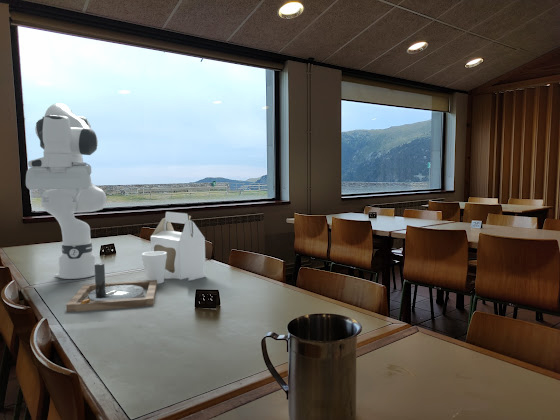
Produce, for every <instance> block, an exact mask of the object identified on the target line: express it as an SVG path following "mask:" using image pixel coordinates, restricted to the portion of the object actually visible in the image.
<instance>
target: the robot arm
mask: <svg viewBox="0 0 560 420" xmlns="http://www.w3.org/2000/svg"><path fill="white" fill-rule="evenodd" d="M91 126H92V125H91V124H90V122H89V120H88V118H86V117H85V116H79V115H78V116H76V115H75V114H74V113H73V111H72V109H71V108H70V107H68V105H66V104H64V103H60V102H58V103H54V104H51V105H49V107H48V108H47V109H46V111H45V113H44V116H42V118H39V119H38V120H37V122H35V127H34V129H35V134H36V136H37V138H38V139H39V147H41V149H43V152H42V153H43V157H39V158H35V159H31V160H29V161H28V162H27V165H28V167H29V168H27V170H26V174H25V186H26V188H27V189H28V190H38V192H37V193H38V195H39V196H40V197H41V198H40V203H41V207H42V209H44V211H45V212H47V213H48V214H50V215H52V216H53V217H54V218H55V220H56V221H57V222H58V224H59V227H60V230H61V236H62V244H61V253H62V255H61V256H59V258H58V272H57V273H55V274H54V278H60V279H63V280H64V279H65V280H72V279H73V280H74V279H78V280H79V279H85V278H90V277H93V276H94V277H95V264H98V263H96V262H97V261H96V256H95V254H94V252H93V243H92V242H91V239H92V238H91V227H90V225H89V224H88V223H87V222H86V221H83V220H81V219H78V218H76V217H75V214H76V213H92V212H97V211H100V210H103V209H104V208H105V207H106V205H107V201H108V200H107V199H108V198H107V194H106V193H105V191H104V190H103V188H100V187H98V186H97V185H95V184H93V182H92V178H91V174H92V166H91V165H90V164H89V163H87V162H84V159H83V155H85V156H91V155H93V154H94V153H95V152H96V151H97V149H98V146H99V145H98V143H99V142H98V136H97V133H96V132H95V130H93V129H92V127H91Z"/></svg>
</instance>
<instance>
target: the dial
mask: <svg viewBox="0 0 560 420" xmlns="http://www.w3.org/2000/svg"><path fill="white" fill-rule="evenodd" d="M105 269H106V268H105V263H97V264H95V275H94V284H95V287H96V290H94V291H91V292H90V293H89V294H88V295H87V297H88V298H87V299H90V301H101V300H115V299H129V298H143V297H144V295H145V293H144V290H145V288H142V287H140V286H135V285H116V286H109V287H105V283H106V273H105V271H106V270H105Z"/></svg>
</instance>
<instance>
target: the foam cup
mask: <svg viewBox="0 0 560 420" xmlns="http://www.w3.org/2000/svg"><path fill="white" fill-rule="evenodd" d="M141 258H142V262H143V263H142V265H143V271H144V275H145V281H146V280H150V281H151V280H157V285H158V284H162V283H164V282H165V278H164V275H165V265H166V259H167V252H164V251H152V252H151V251H146V252H145V251H144V252H142V253H141Z"/></svg>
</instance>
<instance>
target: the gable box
mask: <svg viewBox="0 0 560 420" xmlns="http://www.w3.org/2000/svg"><path fill="white" fill-rule="evenodd" d="M191 219H192V215H189V213H187V212H186V213H185V212H176V211H166V212H165V217H163V218H161V220H160V221H159V223H158V224H157V226H156V227H155V229H154V231H153V232H152V233H151V235H150V252H152V251H164V252H167V259H166V265H165V275H164V280H165V279H167V280H168V279H177V280H184V279H188V281H194V280H198V279H201V278H206V272H207V271H206V270H207V269H206V237H205V236H204V235H203V233H202V232H201V230H200V229H199V227H198V226H197V225H196V223H195V222H194V221H192V220H191ZM172 223H174V224H184V226H183V229H182V231H181V232H180V231H176V230H174V227H173V225H172Z"/></svg>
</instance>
